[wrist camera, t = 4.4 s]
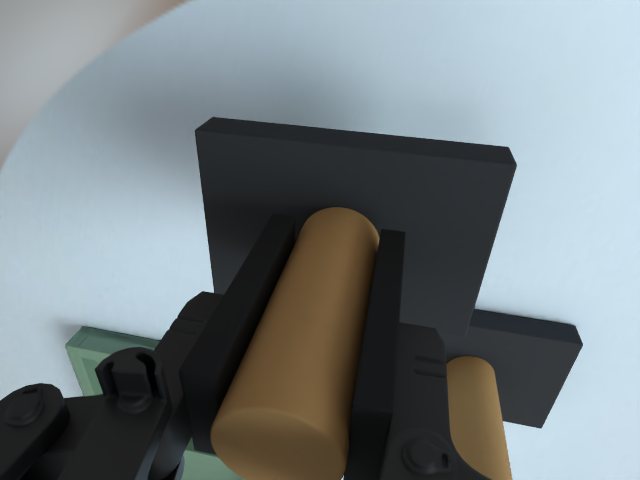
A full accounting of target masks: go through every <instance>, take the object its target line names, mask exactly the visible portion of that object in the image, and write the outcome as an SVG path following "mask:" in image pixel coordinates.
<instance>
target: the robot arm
mask: <svg viewBox="0 0 640 480" xmlns="http://www.w3.org/2000/svg"><path fill="white" fill-rule="evenodd" d="M405 236H406V232H403V231H395V230H388V229H381V233H380V239H379V246H378V252H377V258H376V264H375V270H374V276H373V282H372V289H371V295H370V301H369V307H368V313H367V319H366V325H365V332H364V338H363V344H362V350H361V356H360V362H359V368H358V375H357V381H356V387H355V393H354V399H353V405H352V414H351V422H350V430H349V453H348V460H347V466H346V471H345V473H344V480H492V479H490V478H488V477H486V476H484V475H482V474H481V473H479V472H478V471H476V470H475V469H473V468H472V467H471V466H470V465H468V464H467V463H466V462H465V461H464V460H463V459H462V457H461V456H460V455H459V453H458V452H457V450H456V448H455V446H454V444H453V442H452V439H451V433H450V420H449V402H448V384H447V365H446V347H445V343H444V341H443V339H442V338H441V336H440V334H439V332H438V330H437V329H436V328H431V327H425V326H419V325H413V324H407V323H401V322H399V321H400V307H401V293H402V278H403V264H404V250H405ZM294 245H295V217H290V216H283V215H275V214H272V216H271V218H270V219H269V221H268V223H267V224H266V226H265V228H264V229H263V231H262V233H261V234H260V236H259V238H258V239H257V241H256V243H255V244H254V246H253V248H252V249H251V251H250V252H249V254H248V256H247V257H246V259H245V261H244V262H243V264H242V266H241V267H240V269H239V271H238V272H237V274H236V276H235V277H234V279H233V281H232V282H231V284H230V286H229V287H228V289H227V291H226V292H225V294H224V295H222V294H216V293H210V292H204V291H202V292H201V293H199V294H198V295H197V296H195V297H194V298H192V299H191V300H190V301H188V302H187V303H186V305H185V306H184V308H183V309H182V310H181V312H180V313H179V315H178V318H177V319H175V320H174V322H173V323H172V325H171V326H170V329H169V330H168V331H167V332H166V333H165V335H164V336H163V338H162V339H161V341H160V342H159V343H158V345H157V346H156V348H155V349H154V351H153V350H152V349H148V348H144V347H131V348H126V349H123V350H120V351H117V352H114V353H113V354H111V355H110V356H108V357H106V358H105V359H103V360H102V361H101V363H100V364H99V365H98V366H97V367H96V368H95V372H96V375H97V378H98V381H99V384H100V386H101V389H102V392H103V394H99V395H92V396H82V397H71V398H63V396H62V394H61V391H60V389H58V388H57V387H55V386H53V385H52V384H43V383H39V384H33V385H28V386H25V387H23V388H20V389H18V390H16V391H13V392H12V393H10V394H9V395H8V396H6V397H5V398H3V399H2V400H1V401H0V480H181V478H182V475H183V472H184V464H185V460H184V456H183V454H184V452H185V449H186V447H187V445H188V443H189V441H190V439H191V437H192V440H193V445H194V450H196V451H200V452H205V453H209V454H214V455H217V454H216V453H215V451H214V449H213V447H212V444H211V439H210V432H211V427H212V424H213V422H214V420H215V418H216V415H217V413H218V411H219V409H220V407H221V404H222V402H223V400H224V398H225V396H226V394H227V391H228V389H229V387H230V385H231V383H232V380H233V378H234V376H235V374H236V372H237V369H238V367H239V365H240V363H241V361H242V359H243V356H244V354H245V352H246V350H247V348H248V345H249V343H250V341H251V339H252V337H253V335H254V332H255V330H256V328H257V326H258V324H259V321H260V319H261V317H262V315H263V313H264V310H265V308H266V306H267V304H268V302H269V300H270V297H271V295H272V293H273V291H274V289H275V286H276V284H277V282H278V280H279V278H280V276H281V273H282V271H283V269H284V267H285V265H286V262H287V260H288V258H289V256H290V254H291V251H292V249H293V247H294Z"/></svg>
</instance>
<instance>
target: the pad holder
mask: <svg viewBox="0 0 640 480" xmlns="http://www.w3.org/2000/svg"><path fill="white" fill-rule="evenodd" d="M159 342H160V341H157V340H151V339H146V338H141V337H136V336H130V335H125V334H120V333H115V332H110V331H104V330H99V329H94V328H88V327H82V328H81V329H80V330H79V331H78V332H77V333H76V334H75V335H74V336H73V337H72V338H71V339H70V340H69V341H68V342H67V344H66V345H65V347H66V350H67V353H68V355H69V358H70V361H71V363H72V366H73V369H74V371H75V374H76V377H77V379H78V382H79V385H80V387H81V390H82V393H83V395H84V396H92V395H99V394H103V392H102V389H101V386H100V384H99V381H98V378H97V375H96V372H95V368H96V367H97V366H98V365H99V364H100V363H101V361H102V360H103V359H105V358H106V357H108V356H110V355H111V354H113V353H114V352H117V351H120V350H123V349H126V348H131V347H144V348H148V349H152V350H153V351H154V349H155V348H156V346H157V345H158V343H159ZM183 456H184V460H185V464H184V472H183V475H182V478H181V480H246V479H244V478H242V477H240V476H239V475H237V474H236V473H235V472H233V471H232V470H231V469H229V468H228V467H227V466H226V465H225V464H224V463H223V462H222V461H221V460H220V459H219V457H218V456H217V455H214V454H209V453H205V452H200V451H196V450H194V445H193V440H192V437H191V439H190V441H189V443H188V445H187V447H186V449H185V452H184V454H183Z"/></svg>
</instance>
